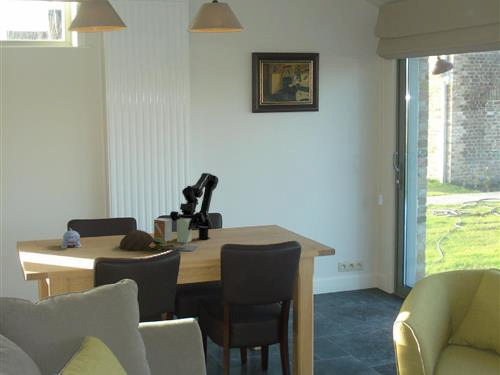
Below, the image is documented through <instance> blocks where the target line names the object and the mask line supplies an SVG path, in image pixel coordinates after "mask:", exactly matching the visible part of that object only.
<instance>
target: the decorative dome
mask: <svg viewBox="0 0 500 375" xmlns="http://www.w3.org/2000/svg"><path fill="white" fill-rule="evenodd" d="M152 242H154V236H152V235H151V234H150V233H148V232H147V231H144V230H141V229H134V230H131V231H129V232H127V233H126V234H125V235H124V237H123V238H122V239H121V240H120V242H119V247H120V250H124V251H126V252H142V251H150V250H152V249H151V247H150V246H149V245H150V244H151V243H152Z"/></svg>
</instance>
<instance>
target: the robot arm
mask: <svg viewBox="0 0 500 375" xmlns="http://www.w3.org/2000/svg"><path fill="white" fill-rule="evenodd" d="M218 184H219V177H218V176H217V175H215V174H212V173H210V172H202V173H201V175H200V177H199V178H198V180H197V181H196V182H195V184H193V185H187V186H185V187H184V188H183V189H182V191H181V193H182V195H183V198H184V199H185V202H186V203H183V202H182V203H180V205H179V206H180V207H179V210H181V212H180V213H179V212H178V211H174V210H173V211H170V213H169V216H170V219H171V220H172V222H173V221H174V222H176V223H177V220H178V219H180V218H187V219H191V222H190V225H189V228H188V230H190V229H191V230H192V228H194V227H195V228H194V229H197V230H198V237H197V238H196V240H203V241H205V240H206V241H208V240H209V239H210V238H211V236H209V230H211V229H212V227H213V223H212V221H211V217H210V215H209V210H210V206H211V201H212V196H213V191H214V190H215V189H216V188H217V186H218ZM203 189H204V190H203ZM198 198H199V199H200V198H202V201H201V205H200V211H196V209H197V205H199V199H198Z"/></svg>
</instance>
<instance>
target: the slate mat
mask: <svg viewBox="0 0 500 375" xmlns="http://www.w3.org/2000/svg"><path fill="white" fill-rule="evenodd" d="M198 247H199V246H198V245H187V244H186V245H183V246H179V247H175V246H173V247H172V248H170V250H178V251H177V252H189V253H190V252H194V251H195V250H196V249H197V248H198ZM170 250H169V251H170Z"/></svg>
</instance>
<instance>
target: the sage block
mask: <svg viewBox="0 0 500 375" xmlns="http://www.w3.org/2000/svg"><path fill="white" fill-rule="evenodd" d="M190 222H191V219H187V218H180V219H178V220H177V222H176V242H177V243H189V242H192V228H191V229H190V230H188V228H189V225H190Z"/></svg>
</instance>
